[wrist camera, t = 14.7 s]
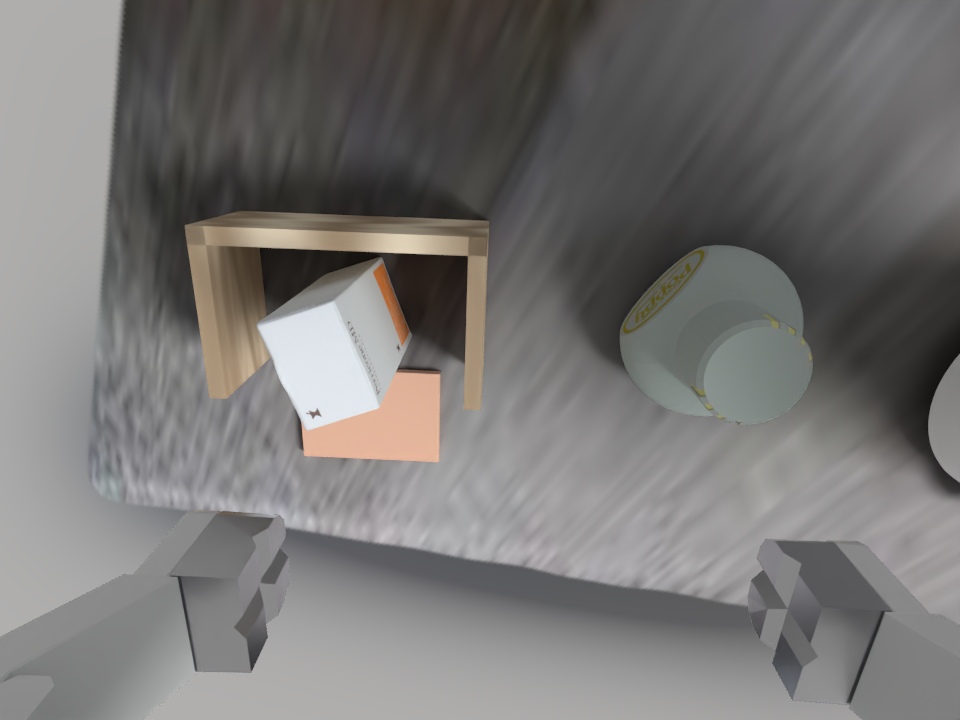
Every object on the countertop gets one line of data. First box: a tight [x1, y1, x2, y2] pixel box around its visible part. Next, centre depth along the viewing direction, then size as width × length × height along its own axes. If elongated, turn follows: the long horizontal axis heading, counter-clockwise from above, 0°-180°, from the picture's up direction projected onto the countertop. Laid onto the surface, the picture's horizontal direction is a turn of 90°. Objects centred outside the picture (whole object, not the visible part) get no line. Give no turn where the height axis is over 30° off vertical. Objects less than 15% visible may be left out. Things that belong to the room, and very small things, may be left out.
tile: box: [301, 369, 441, 462], centre depth 41 cm, size 10×7×1 cm
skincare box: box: [256, 257, 412, 431], centre depth 33 cm, size 6×4×12 cm
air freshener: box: [620, 245, 813, 425], centre depth 34 cm, size 11×8×10 cm
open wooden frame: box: [184, 211, 489, 410], centre depth 35 cm, size 16×10×7 cm, turn 88°
